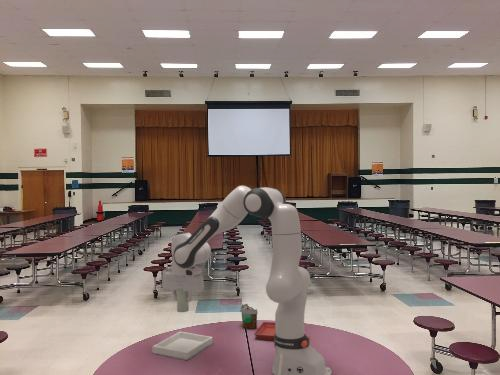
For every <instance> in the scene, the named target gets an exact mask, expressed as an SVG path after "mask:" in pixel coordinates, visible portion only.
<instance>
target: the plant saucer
mask: <svg viewBox="0 0 500 375" xmlns="http://www.w3.org/2000/svg"><path fill="white" fill-rule="evenodd" d="M274 334H275V322H271V321H263V322H262V323H261V324H260V325H259V327H258V328H257V329H256V330H255V332H254V333H253V335H254V336H255V337H256V338H257V339H258V340H264V341H274Z"/></svg>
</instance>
